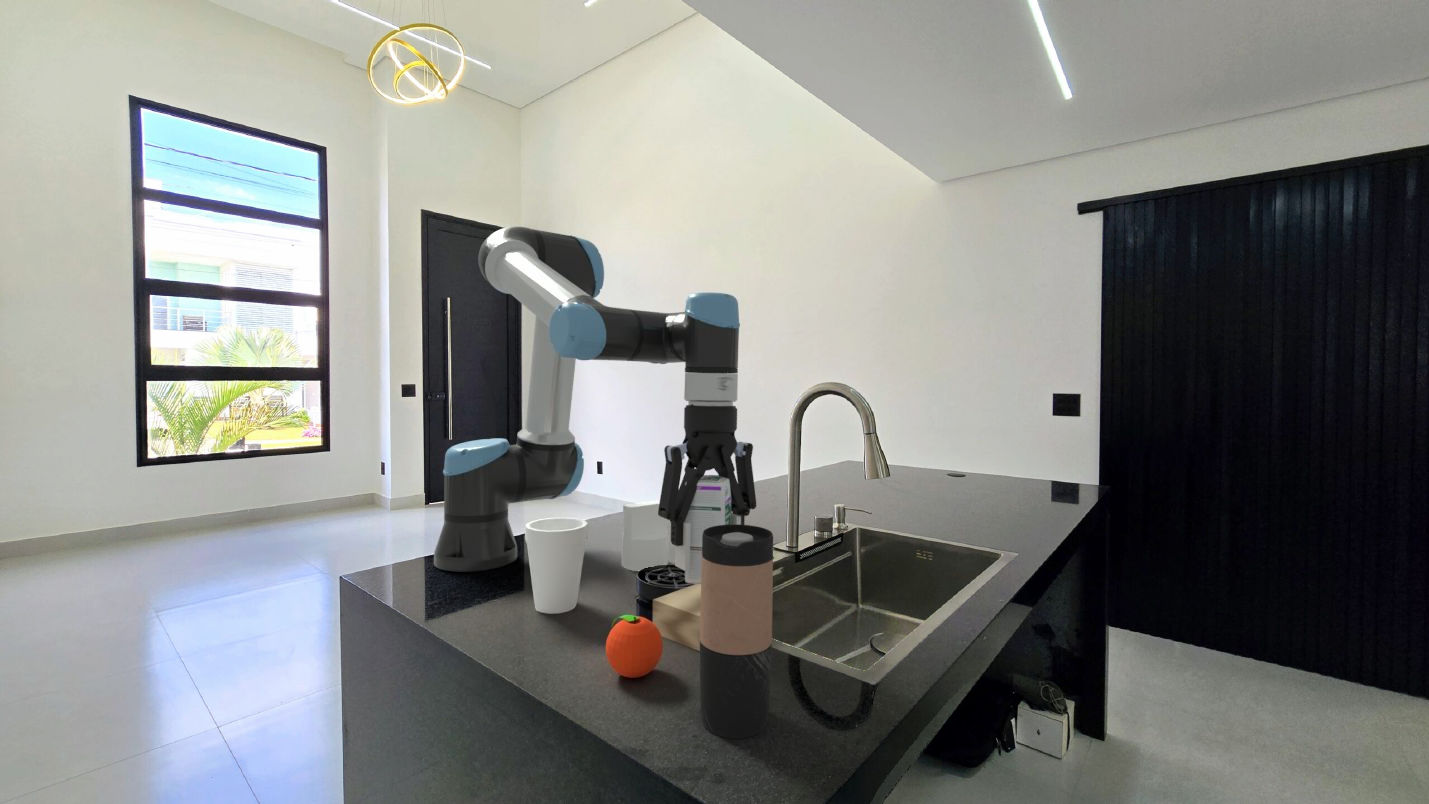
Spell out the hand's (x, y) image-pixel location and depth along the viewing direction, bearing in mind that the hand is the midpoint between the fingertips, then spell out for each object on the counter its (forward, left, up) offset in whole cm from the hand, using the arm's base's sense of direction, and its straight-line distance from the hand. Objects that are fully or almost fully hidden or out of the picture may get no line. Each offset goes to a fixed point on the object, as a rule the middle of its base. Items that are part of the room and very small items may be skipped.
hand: (708, 562), depth 87 cm
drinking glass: (-33, +7, -10) cm, 35 cm away
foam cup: (-21, -15, -10) cm, 27 cm away
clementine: (+5, -15, -10) cm, 19 cm away
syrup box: (0, 0, -2) cm, 2 cm away
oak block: (0, 0, -10) cm, 10 cm away
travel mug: (+20, -10, -10) cm, 25 cm away
